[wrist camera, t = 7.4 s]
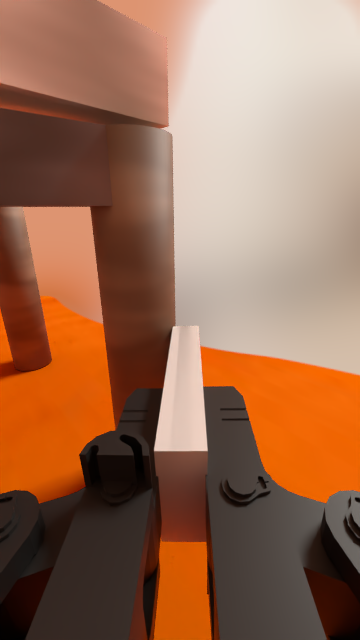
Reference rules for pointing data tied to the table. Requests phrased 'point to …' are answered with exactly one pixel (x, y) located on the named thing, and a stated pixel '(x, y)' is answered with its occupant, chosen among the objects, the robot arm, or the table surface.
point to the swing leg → (107, 225)
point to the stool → (67, 117)
